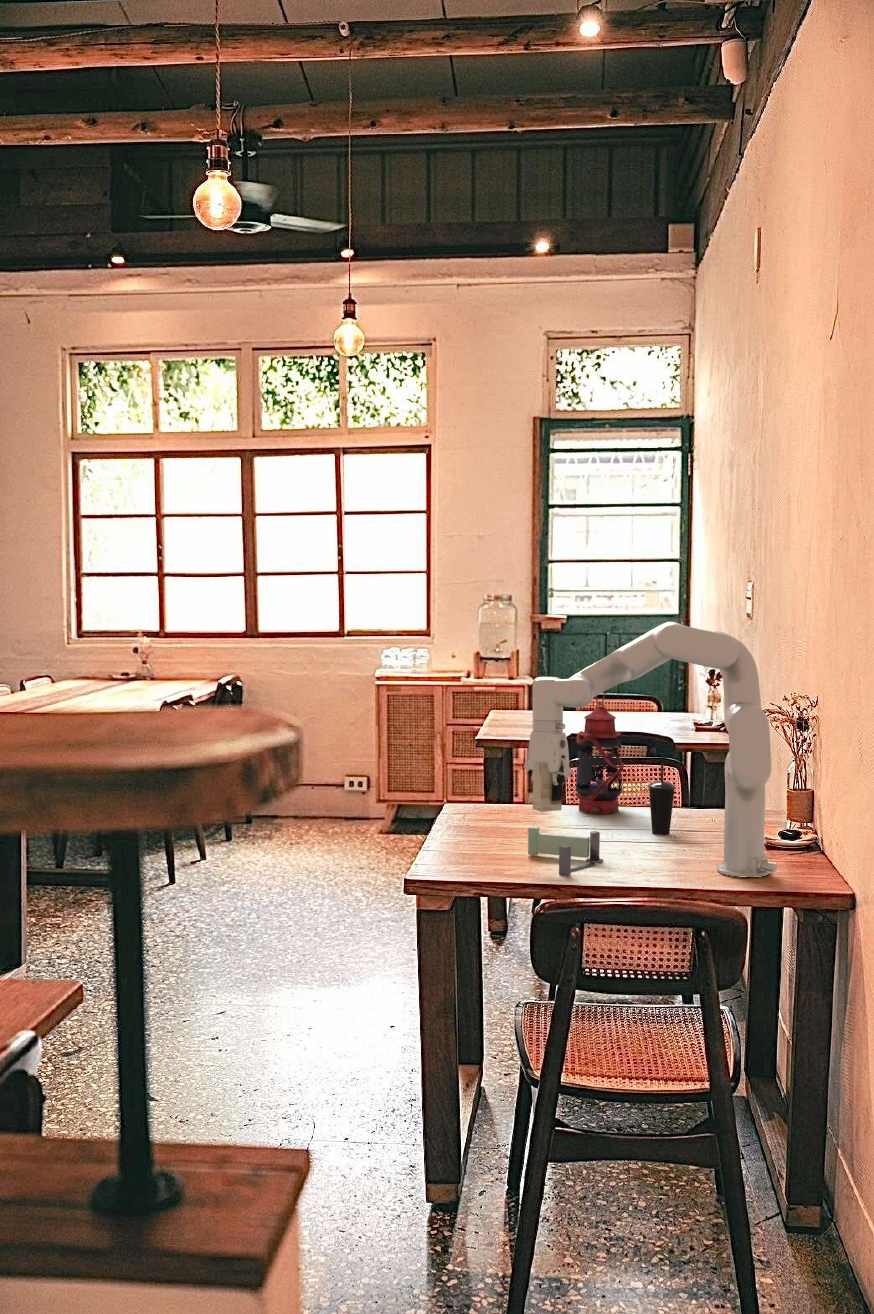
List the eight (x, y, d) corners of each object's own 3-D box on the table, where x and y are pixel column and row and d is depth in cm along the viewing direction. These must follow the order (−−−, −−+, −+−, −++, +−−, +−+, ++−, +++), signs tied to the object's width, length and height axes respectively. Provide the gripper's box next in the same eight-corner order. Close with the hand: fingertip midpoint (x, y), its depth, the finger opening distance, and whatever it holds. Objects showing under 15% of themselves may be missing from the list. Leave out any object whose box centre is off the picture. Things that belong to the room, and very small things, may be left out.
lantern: (583, 804, 384) (585, 662, 381) (628, 808, 378) (631, 664, 375) (569, 813, 369) (571, 666, 366) (616, 817, 364) (618, 668, 361)
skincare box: (541, 812, 300) (541, 763, 299) (531, 809, 304) (532, 761, 303) (563, 810, 303) (563, 761, 302) (553, 807, 307) (553, 759, 306)
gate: (589, 857, 310) (589, 830, 310) (587, 860, 308) (587, 832, 308) (530, 852, 316) (531, 826, 315) (528, 854, 314) (528, 827, 313)
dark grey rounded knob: (606, 861, 309) (607, 832, 308) (595, 864, 306) (596, 835, 305) (593, 858, 312) (593, 829, 311) (582, 861, 309) (582, 832, 308)
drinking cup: (674, 837, 338) (676, 765, 336) (646, 835, 339) (648, 764, 338) (674, 831, 345) (676, 761, 344) (647, 830, 347) (648, 760, 345)
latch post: (601, 866, 303) (601, 839, 303) (565, 876, 294) (565, 847, 293) (592, 864, 305) (592, 837, 305) (556, 874, 296) (556, 845, 295)
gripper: (584, 728, 299) (583, 801, 300) (531, 722, 311) (531, 792, 312) (564, 731, 293) (564, 805, 295) (512, 725, 306) (511, 796, 307)
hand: (547, 798), depth 303 cm, fingers closed on skincare box, 5 cm apart
